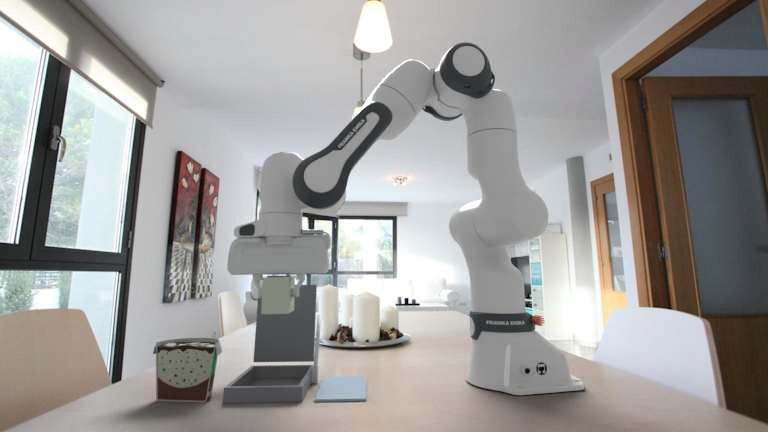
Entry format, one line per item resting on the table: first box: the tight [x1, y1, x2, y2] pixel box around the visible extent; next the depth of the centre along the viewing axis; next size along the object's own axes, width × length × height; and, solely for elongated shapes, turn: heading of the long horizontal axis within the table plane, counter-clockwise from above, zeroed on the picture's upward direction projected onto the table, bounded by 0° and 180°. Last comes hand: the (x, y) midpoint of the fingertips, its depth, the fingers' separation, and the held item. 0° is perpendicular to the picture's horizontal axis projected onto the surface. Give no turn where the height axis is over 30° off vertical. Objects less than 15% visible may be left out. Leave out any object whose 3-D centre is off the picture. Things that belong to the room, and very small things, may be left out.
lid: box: [253, 284, 318, 363], centre depth 86 cm, size 13×17×1 cm
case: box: [222, 314, 322, 404], centre depth 76 cm, size 15×18×13 cm
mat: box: [314, 375, 367, 403], centre depth 74 cm, size 9×15×1 cm, turn 3°
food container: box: [152, 337, 223, 403], centre depth 71 cm, size 12×6×10 cm, turn 84°
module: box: [261, 274, 296, 314], centre depth 78 cm, size 5×7×7 cm
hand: (278, 297), depth 77 cm, fingers closed on module, 5 cm apart
